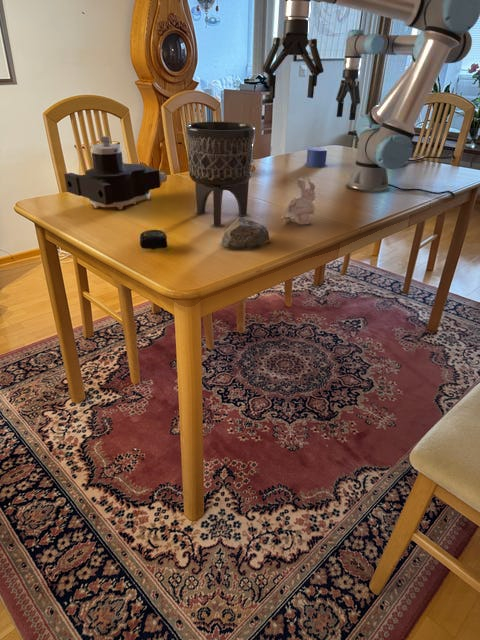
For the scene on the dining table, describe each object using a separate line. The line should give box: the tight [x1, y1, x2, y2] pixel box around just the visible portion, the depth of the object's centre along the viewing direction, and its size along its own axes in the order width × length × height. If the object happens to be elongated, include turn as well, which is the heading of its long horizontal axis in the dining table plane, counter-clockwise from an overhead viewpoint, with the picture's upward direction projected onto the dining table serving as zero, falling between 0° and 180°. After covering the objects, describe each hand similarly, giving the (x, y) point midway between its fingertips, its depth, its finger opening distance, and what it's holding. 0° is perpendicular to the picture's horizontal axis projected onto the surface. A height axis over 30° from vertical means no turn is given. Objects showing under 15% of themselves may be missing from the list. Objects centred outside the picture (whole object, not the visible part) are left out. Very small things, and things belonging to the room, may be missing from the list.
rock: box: [221, 216, 270, 250], centre depth 119 cm, size 13×9×6 cm, turn 131°
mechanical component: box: [63, 135, 168, 210], centre depth 149 cm, size 22×21×30 cm
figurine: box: [281, 177, 316, 225], centre depth 135 cm, size 8×15×13 cm, turn 145°
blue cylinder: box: [305, 147, 328, 168], centre depth 211 cm, size 9×9×7 cm
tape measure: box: [139, 229, 168, 250], centre depth 117 cm, size 7×7×4 cm
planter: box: [185, 121, 256, 227], centre depth 134 cm, size 20×20×26 cm
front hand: (291, 98), depth 146 cm, fingers open, 13 cm apart
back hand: (345, 118), depth 222 cm, fingers open, 13 cm apart
